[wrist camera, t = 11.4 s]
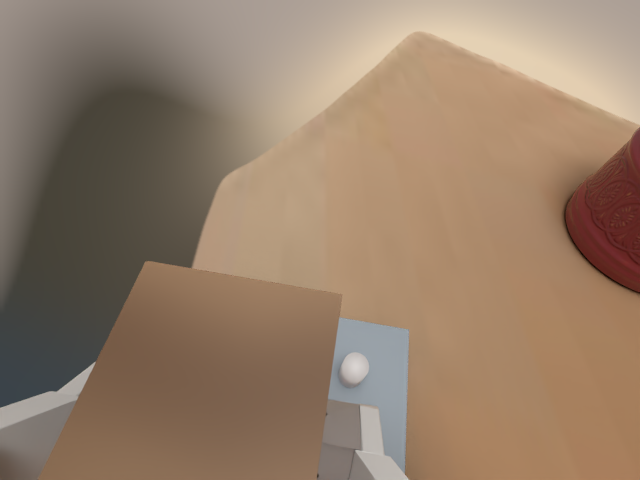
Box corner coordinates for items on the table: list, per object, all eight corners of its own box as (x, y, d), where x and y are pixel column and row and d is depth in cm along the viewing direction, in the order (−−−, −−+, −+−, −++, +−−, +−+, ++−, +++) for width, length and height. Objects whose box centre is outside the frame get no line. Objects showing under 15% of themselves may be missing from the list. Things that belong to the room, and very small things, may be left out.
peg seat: (392, 633, 18) (416, 682, 14) (103, 569, 19) (52, 598, 15) (404, 335, 26) (420, 315, 23) (203, 299, 27) (186, 275, 23)
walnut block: (302, 502, 12) (304, 567, 5) (178, 477, 12) (23, 508, 5) (322, 369, 14) (342, 294, 8) (218, 350, 15) (146, 260, 8)
